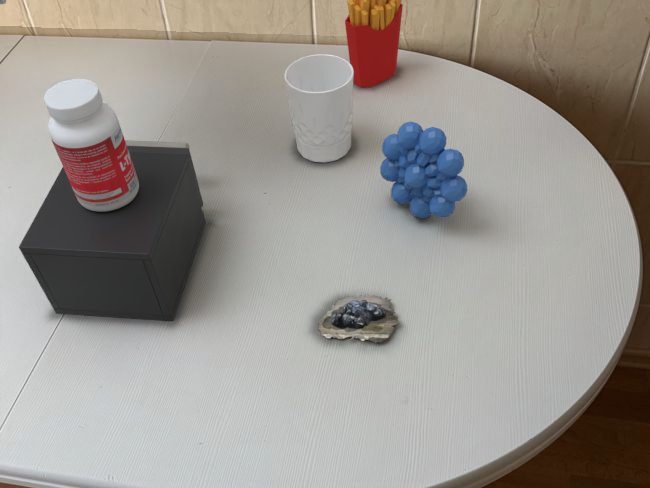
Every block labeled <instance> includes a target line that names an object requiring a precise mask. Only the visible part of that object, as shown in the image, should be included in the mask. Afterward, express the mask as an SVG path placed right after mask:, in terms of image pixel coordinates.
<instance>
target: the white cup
mask: <svg viewBox="0 0 650 488" xmlns="http://www.w3.org/2000/svg"><path fill="white" fill-rule="evenodd" d="M283 77H284V83H285V90H286V95H287V103H288V109H289V113H290V118H291V124H292V127H293V128H292V129H293V131H294V136H295V143H296V148H297V152H298V153H299V154H300V155H301V157H303V159H306V160H308V161H311V162H315V163H329V162H334V161H337V160H340V159H341V158H343V157H344V156H346V155H347V154H348V152H349V151H350V149H351V148H352V127H353V119H354V118H353V117H354V82H353V80H354V70H353V67H352V65H351V64H350V61H348V60H347V59H345V58H343V57H341V56H338V55H334V54H329V53H315V54H309V55H306V56H305V55H304V56H302V57H300V58H297V59H296V60H294V61H292V62H291V63H290V64H288V66H287V67H286V69H285V71H284V76H283Z"/></svg>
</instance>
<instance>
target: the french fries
mask: <svg viewBox="0 0 650 488" xmlns="http://www.w3.org/2000/svg"><path fill="white" fill-rule="evenodd" d="M346 2H347V10H348V15H347V16H346V18H345V20H344V25H345V32H346V41H347V49H348V51H347V52H348V58H349V63H350V64H351V65H352V67H353V70H354V80H353V84H355V85H357V86H358V87H359V88H372V87H374V86H377V85H379V84H381V83H383V82H385V81H387V80H389V79H391V78H393V77H394V76H395V74H396V71H397V64H398V55H399V44H400V35H401V25H402V16H403V7H404V5H403V3H402V0H347V1H346Z"/></svg>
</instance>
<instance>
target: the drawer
mask: <svg viewBox="0 0 650 488" xmlns="http://www.w3.org/2000/svg"><path fill="white" fill-rule="evenodd" d="M125 142H126V145H127V148H128V151H130V152H156V153H182V154H188V156H189V160H190V164H191V168H192V172H193V176H194V179H195V183H196V187H197V191H198V195H199V199H200V203H201V206H202V207H203V206H204V201H203V197H202V193H201V188H200V186H199V182H198V178H197V174H196V170H195V166H194V162H193V157H192V154H191V149H190V144H189V143H188V142H183V141H182V142H181V141H155V140H154V141H153V140H131V139H130V140H129V139H128V140H127V139H125Z"/></svg>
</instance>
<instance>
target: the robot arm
mask: <svg viewBox="0 0 650 488" xmlns="http://www.w3.org/2000/svg"><path fill="white" fill-rule="evenodd" d="M5 4H7V0H0V5H5Z"/></svg>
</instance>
